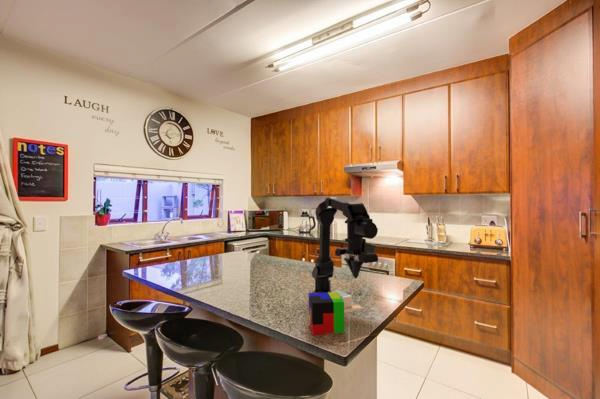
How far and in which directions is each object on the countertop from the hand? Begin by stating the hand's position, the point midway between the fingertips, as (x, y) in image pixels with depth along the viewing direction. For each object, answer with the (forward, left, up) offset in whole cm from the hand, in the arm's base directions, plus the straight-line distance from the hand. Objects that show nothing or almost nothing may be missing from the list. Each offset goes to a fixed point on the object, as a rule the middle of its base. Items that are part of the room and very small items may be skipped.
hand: (355, 277), depth 107 cm
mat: (-5, +5, -13) cm, 15 cm away
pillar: (-4, +4, -11) cm, 12 cm away
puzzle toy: (-8, -16, -13) cm, 22 cm away
